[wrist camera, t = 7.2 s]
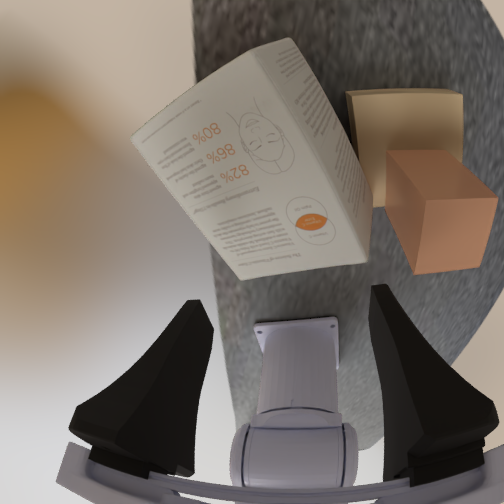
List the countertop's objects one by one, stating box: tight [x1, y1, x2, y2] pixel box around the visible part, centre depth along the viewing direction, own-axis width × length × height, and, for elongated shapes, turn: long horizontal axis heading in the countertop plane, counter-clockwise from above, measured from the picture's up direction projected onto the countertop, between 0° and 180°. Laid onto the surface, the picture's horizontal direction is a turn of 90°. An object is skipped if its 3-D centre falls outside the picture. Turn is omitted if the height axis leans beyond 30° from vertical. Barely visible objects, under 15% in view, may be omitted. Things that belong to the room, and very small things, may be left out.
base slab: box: [345, 88, 463, 207], centre depth 16 cm, size 7×7×2 cm
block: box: [385, 150, 498, 275], centre depth 13 cm, size 4×4×6 cm
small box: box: [130, 37, 373, 281], centre depth 15 cm, size 8×6×10 cm
